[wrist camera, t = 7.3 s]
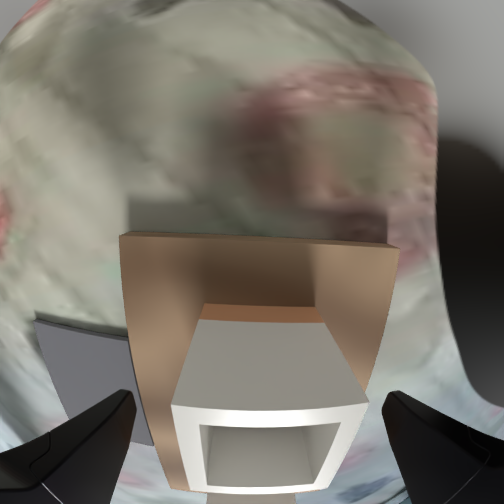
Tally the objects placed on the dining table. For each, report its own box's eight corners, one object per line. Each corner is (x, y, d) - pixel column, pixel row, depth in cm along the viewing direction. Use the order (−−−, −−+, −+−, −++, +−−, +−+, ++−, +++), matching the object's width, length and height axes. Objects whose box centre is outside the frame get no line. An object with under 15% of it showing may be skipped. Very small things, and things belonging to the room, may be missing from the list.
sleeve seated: (278, 481, 14) (286, 546, 8) (214, 480, 14) (210, 546, 8) (287, 449, 13) (300, 529, 7) (211, 449, 13) (204, 529, 7)
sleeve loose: (315, 306, 11) (369, 402, 5) (300, 389, 12) (326, 488, 6) (204, 303, 11) (170, 404, 5) (206, 387, 12) (190, 490, 6)
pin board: (317, 480, 16) (326, 521, 12) (172, 477, 16) (164, 520, 11) (387, 243, 12) (449, 269, 7) (130, 231, 11) (72, 254, 7)
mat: (154, 442, 15) (153, 446, 14) (73, 420, 14) (71, 423, 14) (130, 337, 13) (127, 341, 12) (36, 318, 12) (33, 321, 12)
